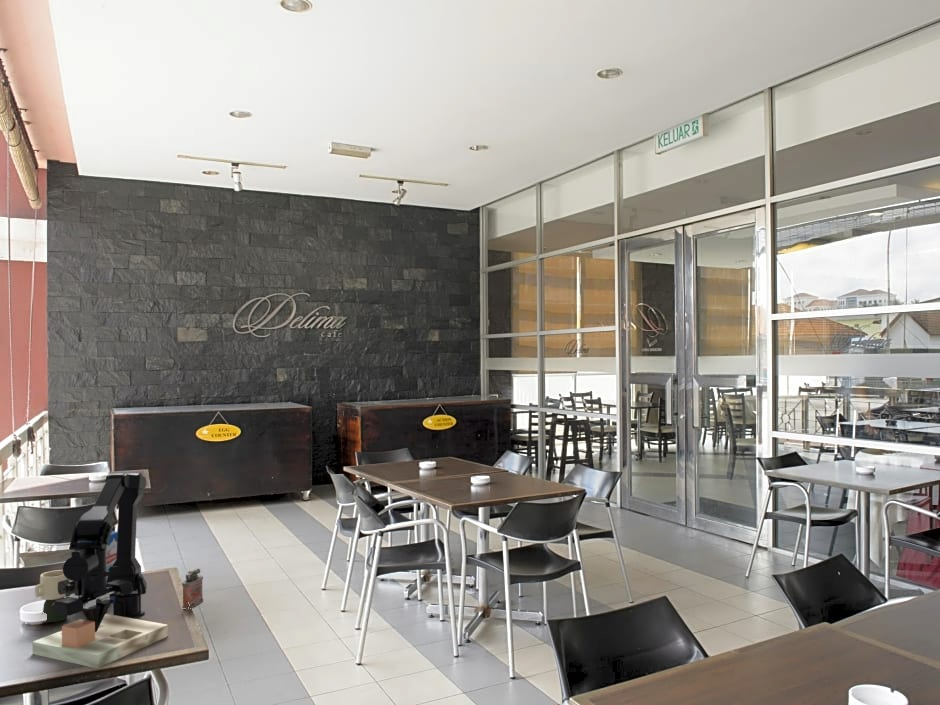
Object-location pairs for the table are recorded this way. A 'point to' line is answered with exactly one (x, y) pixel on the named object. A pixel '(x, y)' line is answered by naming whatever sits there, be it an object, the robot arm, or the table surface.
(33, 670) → the table surface
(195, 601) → the lighter
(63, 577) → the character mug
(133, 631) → the cream flat piece
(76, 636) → the block
